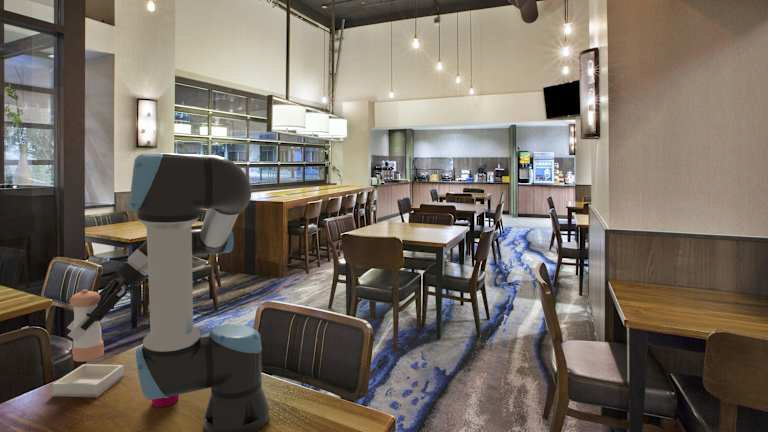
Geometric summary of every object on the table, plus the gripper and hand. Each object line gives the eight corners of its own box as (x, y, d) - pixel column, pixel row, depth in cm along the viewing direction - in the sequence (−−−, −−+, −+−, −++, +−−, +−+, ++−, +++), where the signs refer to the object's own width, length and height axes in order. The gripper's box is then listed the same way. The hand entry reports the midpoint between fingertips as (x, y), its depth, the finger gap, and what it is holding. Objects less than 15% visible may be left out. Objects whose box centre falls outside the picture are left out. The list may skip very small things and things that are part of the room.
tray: (97, 397, 116) (96, 384, 116) (53, 396, 116) (52, 383, 116) (124, 376, 128) (123, 365, 128) (84, 375, 128) (83, 364, 128)
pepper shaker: (105, 348, 127) (101, 284, 125) (102, 358, 121) (99, 291, 118) (74, 353, 123) (70, 287, 121) (70, 363, 117) (66, 295, 115)
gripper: (153, 283, 121) (86, 353, 113) (142, 269, 137) (82, 330, 128) (130, 266, 118) (59, 338, 110) (122, 254, 133) (58, 316, 125)
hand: (71, 333), depth 119 cm, fingers closed on pepper shaker, 6 cm apart
